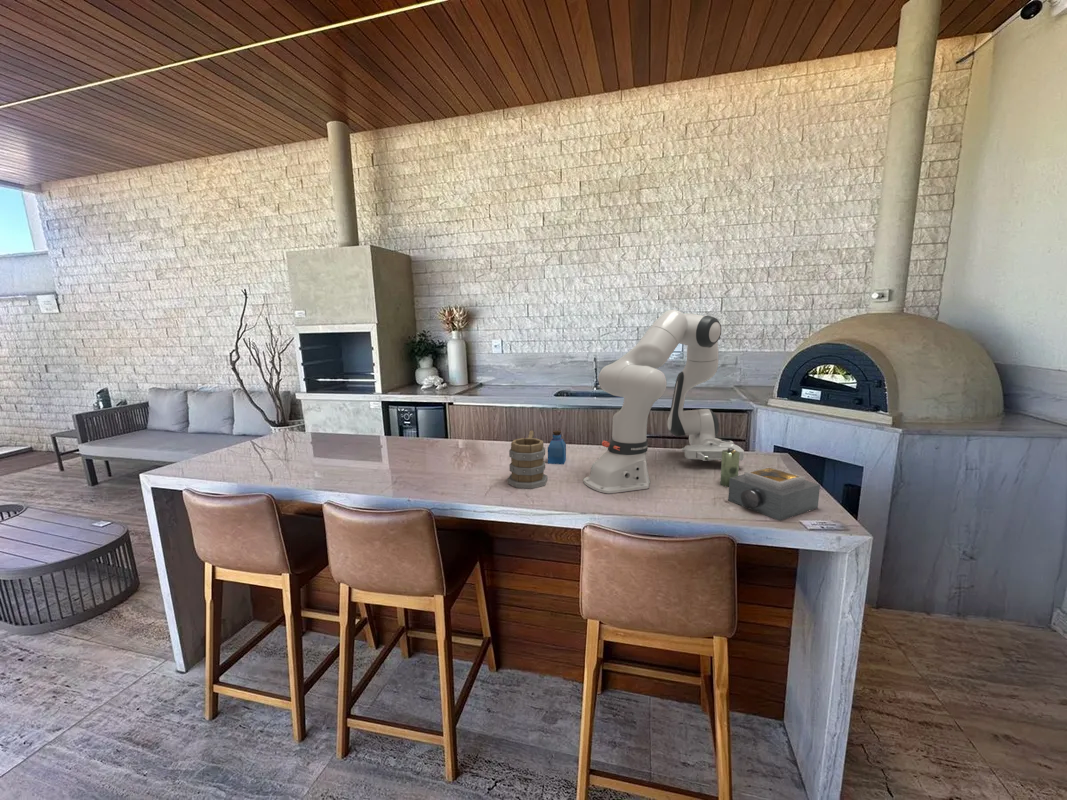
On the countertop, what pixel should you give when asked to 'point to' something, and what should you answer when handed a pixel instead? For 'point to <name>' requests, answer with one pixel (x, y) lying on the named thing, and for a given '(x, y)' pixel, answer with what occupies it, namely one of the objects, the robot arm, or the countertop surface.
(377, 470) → the countertop surface
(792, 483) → the gearbox housing
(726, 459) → the spout can
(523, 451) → the tankard
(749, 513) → the countertop surface
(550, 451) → the perfume bottle
